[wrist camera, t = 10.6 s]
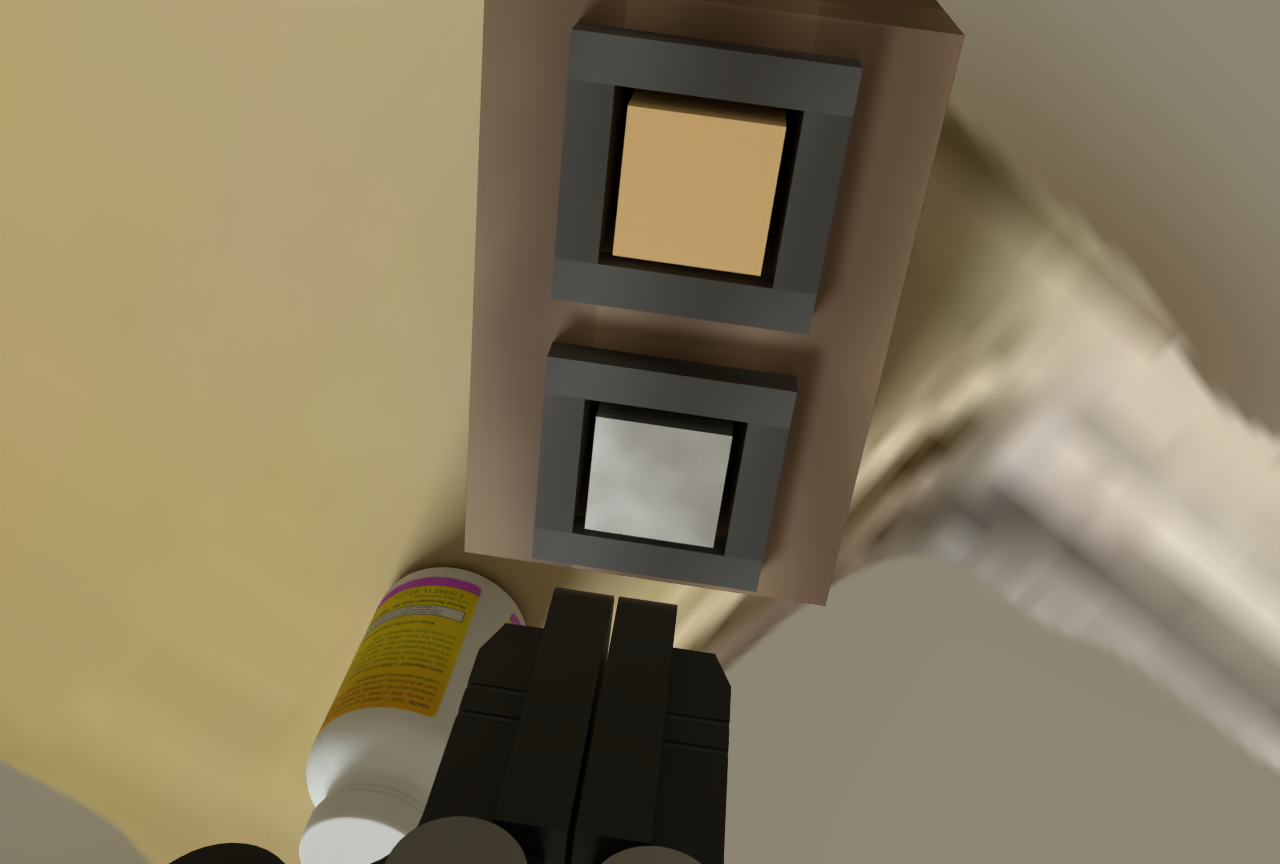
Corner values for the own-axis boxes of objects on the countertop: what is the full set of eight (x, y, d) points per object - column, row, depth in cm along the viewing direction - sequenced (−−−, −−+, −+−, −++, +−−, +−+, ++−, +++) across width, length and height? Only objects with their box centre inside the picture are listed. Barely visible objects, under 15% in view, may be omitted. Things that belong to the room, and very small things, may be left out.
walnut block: (512, 433, 44) (456, 569, 36) (542, -63, 35) (476, -23, 27) (816, 477, 44) (826, 625, 36) (926, -13, 35) (970, 43, 27)
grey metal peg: (615, 406, 41) (584, 528, 35) (626, 308, 39) (596, 416, 33) (722, 422, 41) (713, 548, 34) (739, 324, 39) (732, 436, 32)
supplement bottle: (350, 610, 49) (228, 846, 38) (453, 533, 47) (353, 764, 36) (459, 702, 51) (372, 952, 40) (562, 634, 49) (500, 881, 38)
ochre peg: (642, 169, 37) (612, 255, 30) (656, 44, 35) (627, 105, 28) (762, 185, 37) (760, 276, 30) (783, 61, 35) (786, 126, 28)
